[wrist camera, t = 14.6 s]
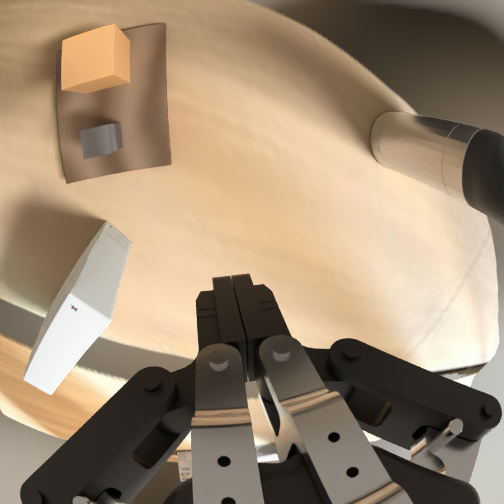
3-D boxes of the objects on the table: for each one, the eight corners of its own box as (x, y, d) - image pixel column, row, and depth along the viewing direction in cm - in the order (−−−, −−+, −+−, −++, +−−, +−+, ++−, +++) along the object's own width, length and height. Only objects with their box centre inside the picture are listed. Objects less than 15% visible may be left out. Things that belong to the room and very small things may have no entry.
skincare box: (74, 323, 39) (50, 397, 25) (50, 306, 36) (18, 377, 22) (137, 243, 35) (112, 323, 21) (107, 218, 32) (63, 288, 18)
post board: (166, 26, 22) (160, 6, 16) (171, 162, 31) (166, 174, 25) (62, 52, 20) (36, 43, 14) (70, 181, 28) (47, 197, 22)
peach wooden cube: (130, 40, 21) (115, 23, 15) (130, 82, 24) (113, 74, 18) (86, 52, 20) (62, 40, 14) (86, 93, 23) (61, 90, 17)
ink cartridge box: (180, 455, 73) (184, 489, 60) (176, 451, 70) (180, 487, 58) (206, 453, 74) (212, 488, 62) (204, 449, 72) (210, 485, 59)
